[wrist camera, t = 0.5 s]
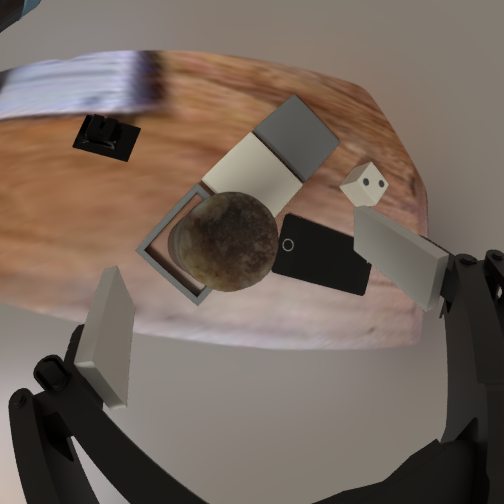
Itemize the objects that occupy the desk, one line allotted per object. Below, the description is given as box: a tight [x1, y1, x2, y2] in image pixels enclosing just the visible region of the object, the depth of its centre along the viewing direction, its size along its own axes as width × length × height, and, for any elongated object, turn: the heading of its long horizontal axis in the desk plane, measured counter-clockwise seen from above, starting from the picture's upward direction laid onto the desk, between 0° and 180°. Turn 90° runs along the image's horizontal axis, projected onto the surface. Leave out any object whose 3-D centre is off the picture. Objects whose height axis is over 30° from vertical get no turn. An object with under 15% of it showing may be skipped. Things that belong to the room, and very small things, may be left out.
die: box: [339, 162, 389, 207], centre depth 44 cm, size 5×5×5 cm
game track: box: [135, 94, 340, 306], centre depth 40 cm, size 11×34×1 cm, turn 139°
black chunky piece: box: [72, 114, 141, 162], centre depth 33 cm, size 12×7×5 cm, turn 73°
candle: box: [168, 192, 279, 292], centre depth 29 cm, size 8×7×20 cm
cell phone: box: [271, 214, 372, 296], centre depth 45 cm, size 9×18×1 cm, turn 75°
